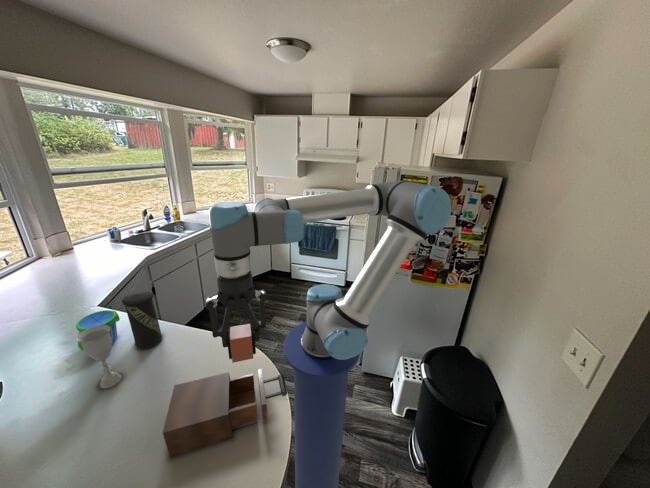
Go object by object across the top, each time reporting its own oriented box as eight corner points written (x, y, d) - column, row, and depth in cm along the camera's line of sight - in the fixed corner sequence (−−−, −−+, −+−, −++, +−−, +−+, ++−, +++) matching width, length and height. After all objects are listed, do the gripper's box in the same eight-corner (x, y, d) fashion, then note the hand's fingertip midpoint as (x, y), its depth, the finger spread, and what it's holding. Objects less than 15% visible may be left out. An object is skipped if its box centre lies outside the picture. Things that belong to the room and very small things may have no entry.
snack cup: (99, 359, 83) (90, 335, 79) (68, 357, 83) (58, 333, 80) (134, 328, 98) (128, 306, 94) (108, 327, 98) (101, 305, 94)
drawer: (282, 380, 77) (281, 363, 75) (289, 415, 67) (289, 397, 65) (218, 397, 71) (215, 379, 69) (215, 438, 61) (212, 419, 59)
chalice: (88, 391, 72) (68, 341, 66) (107, 371, 79) (90, 324, 73) (114, 390, 73) (97, 341, 66) (131, 371, 79) (116, 325, 73)
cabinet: (232, 394, 73) (229, 372, 70) (232, 438, 62) (228, 414, 59) (179, 407, 69) (174, 384, 66) (169, 457, 58) (162, 433, 55)
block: (252, 344, 67) (250, 323, 65) (253, 358, 63) (251, 336, 60) (232, 348, 66) (230, 326, 63) (232, 363, 61) (229, 340, 59)
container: (142, 353, 86) (128, 304, 79) (130, 343, 90) (115, 295, 84) (168, 338, 93) (157, 292, 86) (155, 329, 97) (144, 285, 90)
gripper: (186, 285, 50) (202, 372, 58) (276, 274, 56) (280, 355, 64) (192, 269, 57) (206, 349, 65) (272, 261, 62) (275, 336, 70)
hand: (242, 352), depth 64 cm, fingers closed on block, 5 cm apart
